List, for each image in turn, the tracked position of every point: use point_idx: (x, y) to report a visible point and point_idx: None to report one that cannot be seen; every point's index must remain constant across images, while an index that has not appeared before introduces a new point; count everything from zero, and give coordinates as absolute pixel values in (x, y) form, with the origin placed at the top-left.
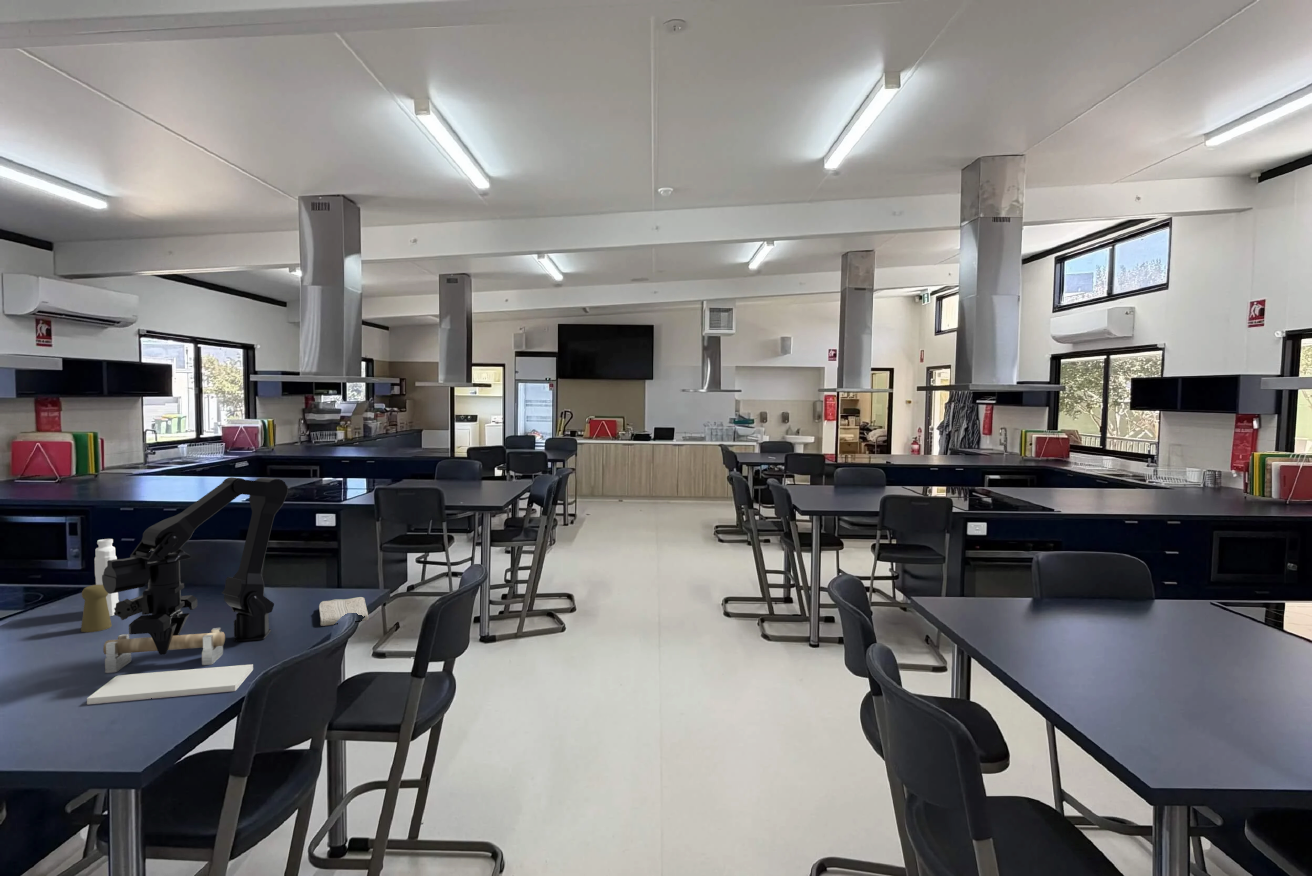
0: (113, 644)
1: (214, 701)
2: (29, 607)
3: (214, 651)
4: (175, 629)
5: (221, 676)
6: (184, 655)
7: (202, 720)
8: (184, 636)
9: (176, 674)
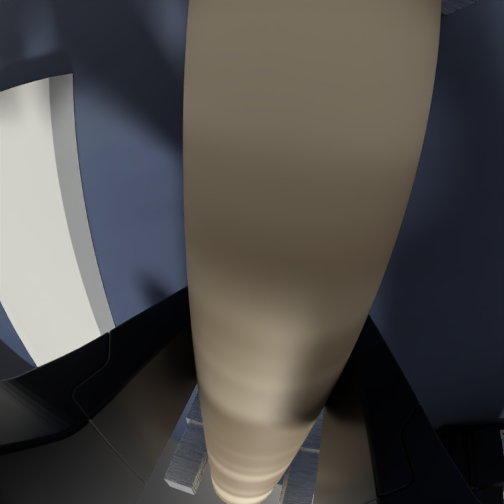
0: None
1: (23, 348)
2: None
3: None
4: (323, 492)
5: None
6: (399, 314)
7: None
8: (221, 462)
9: (67, 315)
